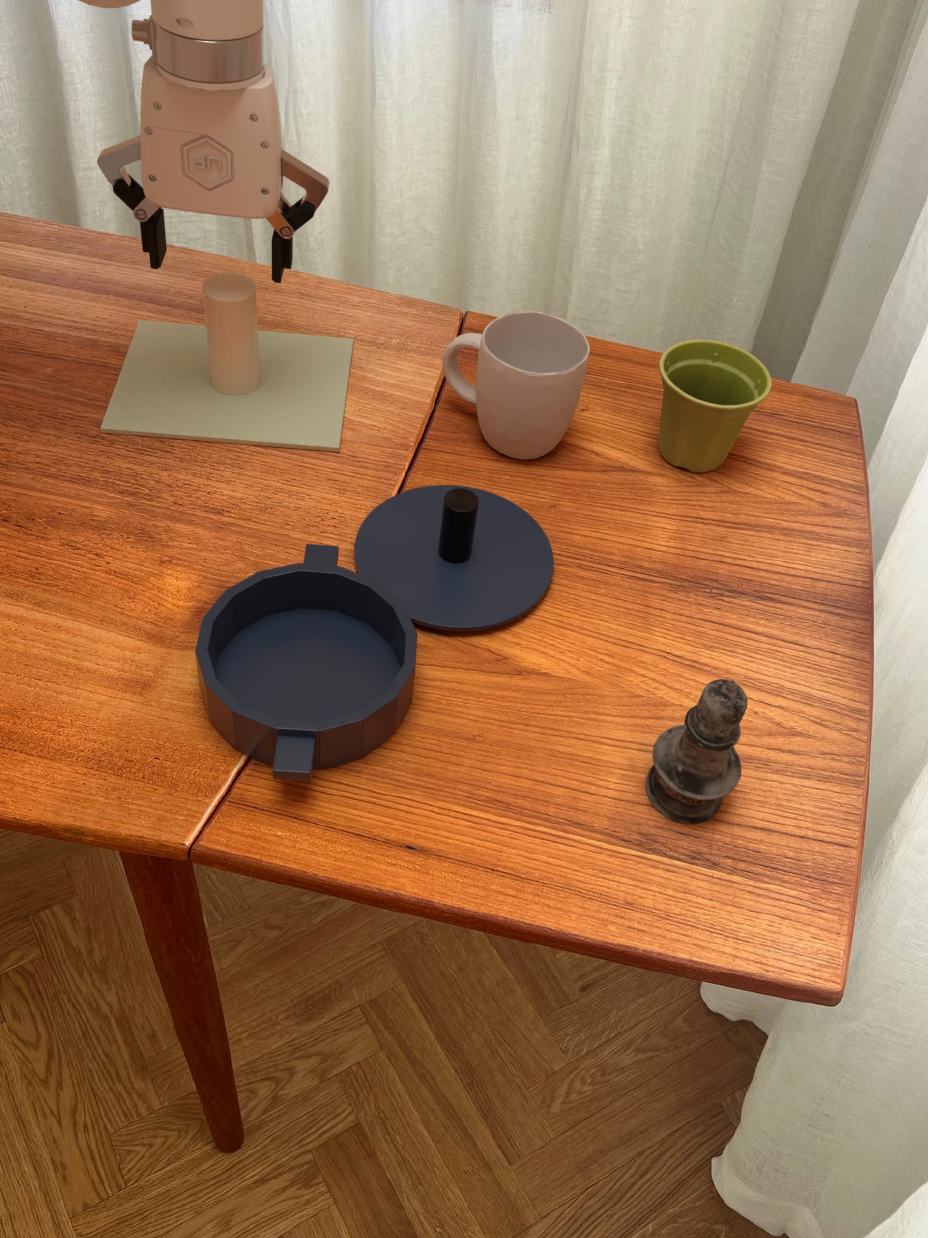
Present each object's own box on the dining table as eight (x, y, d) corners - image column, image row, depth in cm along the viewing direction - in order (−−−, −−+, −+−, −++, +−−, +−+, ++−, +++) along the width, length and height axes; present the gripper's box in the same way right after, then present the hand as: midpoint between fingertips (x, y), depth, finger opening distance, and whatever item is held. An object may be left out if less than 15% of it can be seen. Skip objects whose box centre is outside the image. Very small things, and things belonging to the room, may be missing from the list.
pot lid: (346, 629, 82) (347, 567, 77) (361, 487, 92) (363, 424, 87) (555, 644, 83) (570, 583, 78) (547, 502, 93) (560, 440, 88)
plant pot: (673, 496, 95) (698, 416, 89) (619, 429, 101) (640, 348, 94) (762, 474, 98) (793, 394, 92) (705, 410, 104) (731, 331, 97)
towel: (100, 432, 93) (99, 428, 93) (139, 323, 104) (139, 319, 104) (339, 452, 95) (339, 447, 94) (353, 342, 105) (353, 338, 105)
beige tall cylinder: (206, 393, 97) (197, 298, 90) (214, 363, 100) (206, 269, 93) (257, 397, 98) (252, 303, 91) (263, 367, 101) (259, 274, 94)
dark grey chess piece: (711, 750, 78) (762, 640, 69) (738, 823, 74) (796, 716, 65) (630, 758, 77) (672, 646, 68) (654, 832, 73) (701, 725, 64)
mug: (586, 429, 100) (608, 335, 93) (542, 484, 95) (560, 388, 87) (464, 378, 103) (475, 282, 96) (414, 427, 98) (422, 330, 90)
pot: (177, 797, 71) (170, 758, 68) (225, 572, 84) (221, 529, 81) (405, 811, 72) (410, 773, 69) (417, 586, 85) (421, 545, 82)
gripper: (69, 52, 75) (99, 279, 87) (328, 85, 76) (321, 304, 89) (95, 10, 80) (120, 231, 92) (337, 42, 81) (329, 255, 94)
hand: (219, 267), depth 90 cm, fingers open, 9 cm apart
